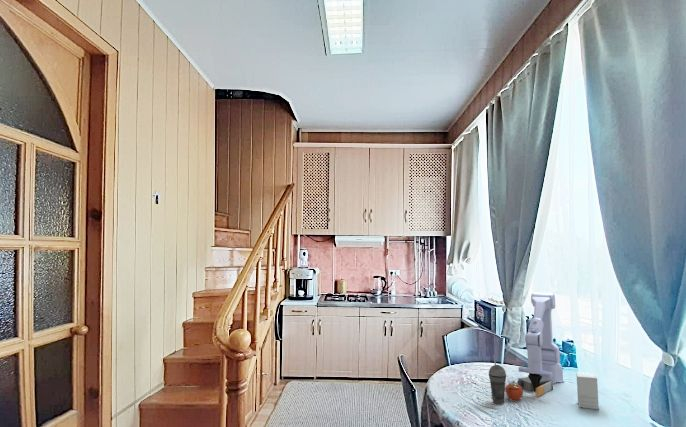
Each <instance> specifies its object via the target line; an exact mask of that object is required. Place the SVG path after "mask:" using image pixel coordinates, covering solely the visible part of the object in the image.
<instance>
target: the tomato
mask: <svg viewBox="0 0 686 427" xmlns="http://www.w3.org/2000/svg"><path fill="white" fill-rule="evenodd" d="M505 394H506V395H505V396H506V397H507V398H508V399H509V400H510V401H513V402H516V401H517V402H518V401H519V400H521V398H523V394H524V389H522V387H521V386H520V385H519V384H518V383H517V382H515V380H512V382H509V383H508V384H505Z"/></svg>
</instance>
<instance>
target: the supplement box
mask: <svg viewBox="0 0 686 427" xmlns="http://www.w3.org/2000/svg"><path fill="white" fill-rule="evenodd" d="M576 387H577V388H576V389H577V403H578V407H579V408H581V407H583V408H584V409H590V410H591V409H592V410H599V409H600V408H599V407H600V404H599V403H600V402H599V392H598V391H599V389H598V376H597V375H596V373H593V372H582V371H581V372H580V371H576ZM583 408H582V409H583Z"/></svg>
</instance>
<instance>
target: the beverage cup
mask: <svg viewBox="0 0 686 427" xmlns="http://www.w3.org/2000/svg"><path fill="white" fill-rule="evenodd" d="M495 355H496V354H493V356H492V357H493V362H494V363H493V364H494V365H492V366H490V368H489V370H488V378H489V382H490V390H491V391H490V392H491V399H492V403H493V404H496V405H504V404H505V396H506V395H505V394H506V392H505V387H506V380H507V371H506V370H505V368H504V367H503V366H501V364H500V365H499V364H497V362H496V356H495Z"/></svg>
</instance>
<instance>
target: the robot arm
mask: <svg viewBox="0 0 686 427" xmlns="http://www.w3.org/2000/svg"><path fill="white" fill-rule="evenodd" d="M530 301H531V302H530V303H531V304H532V307H534V310H533V318H531V319H530V321H529V326H528V329H527V330H528V331H527V332H526V333H525V336H524V340H525V341H524V342H525V346H526V347H525V349H526V350H527V367H526V366H519V367H518V368H517V370H518V372H519V373H526V374H528V375H527V377H529V379H530V381H531V383H532V385H533V389H534V392H533V393H536V388H537V387H538V386H539V383H540V380H541V378H542V377H544V378H546V379H549V380H551V381H553V384H557V383H556V382H560V383H565V380H564V376H563V374H564V372H563V371H564V370H563V366H562V364H561V363H560V362H561V352H560V347H559V346H558V345H557V344H556V343H554V340H553V323H552V322H553V321H552V311H553V310H554V309H556V297H555V294H554V292H538V291H537V292H536V291H533V292H532V293H531V295H530Z"/></svg>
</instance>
